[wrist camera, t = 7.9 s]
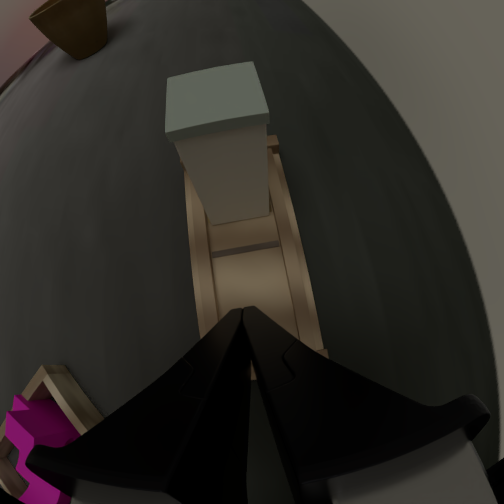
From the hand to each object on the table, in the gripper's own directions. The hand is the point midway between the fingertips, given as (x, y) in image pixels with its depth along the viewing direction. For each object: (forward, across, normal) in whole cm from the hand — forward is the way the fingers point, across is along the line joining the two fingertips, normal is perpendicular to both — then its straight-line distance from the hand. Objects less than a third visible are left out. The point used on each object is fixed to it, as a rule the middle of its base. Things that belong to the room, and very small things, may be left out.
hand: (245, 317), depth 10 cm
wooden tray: (+14, 0, -4) cm, 15 cm away
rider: (+17, 0, 0) cm, 17 cm away
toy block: (+1, -24, -18) cm, 30 cm away
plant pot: (+48, -25, +30) cm, 62 cm away
